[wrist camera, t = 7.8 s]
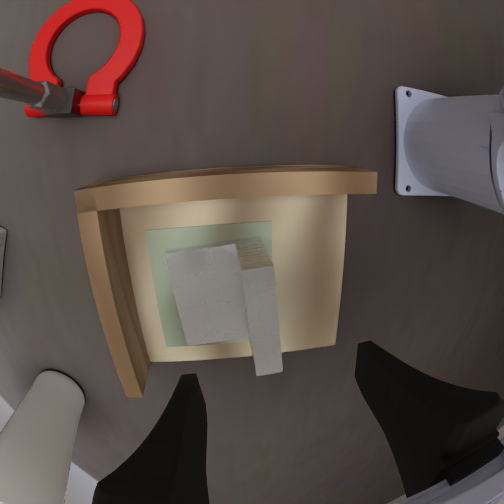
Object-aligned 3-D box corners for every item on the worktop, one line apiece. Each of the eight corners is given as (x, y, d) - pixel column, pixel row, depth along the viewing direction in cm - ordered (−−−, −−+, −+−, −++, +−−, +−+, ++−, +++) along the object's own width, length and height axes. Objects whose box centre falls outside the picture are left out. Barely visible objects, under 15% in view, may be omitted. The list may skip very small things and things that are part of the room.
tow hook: (53, 5, 13) (24, 120, 16) (-38, -72, 1) (-115, 111, 4) (158, -5, 15) (130, 118, 17) (122, -134, 2) (18, 68, 5)
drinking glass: (93, 375, 23) (47, 524, 9) (93, 420, 25) (63, 545, 11) (28, 351, 22) (-42, 477, 8) (35, 398, 24) (-12, 511, 10)
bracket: (268, 327, 23) (282, 371, 18) (188, 339, 22) (184, 385, 17) (259, 236, 20) (273, 265, 15) (166, 250, 20) (153, 283, 15)
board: (344, 165, 20) (348, 165, 19) (333, 341, 25) (335, 345, 24) (101, 179, 18) (98, 180, 18) (137, 358, 23) (135, 363, 22)
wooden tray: (347, 165, 19) (377, 172, 16) (335, 344, 24) (352, 375, 20) (99, 180, 18) (73, 190, 14) (135, 362, 22) (126, 397, 19)
